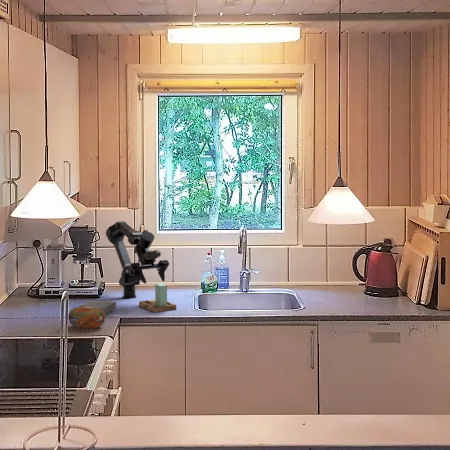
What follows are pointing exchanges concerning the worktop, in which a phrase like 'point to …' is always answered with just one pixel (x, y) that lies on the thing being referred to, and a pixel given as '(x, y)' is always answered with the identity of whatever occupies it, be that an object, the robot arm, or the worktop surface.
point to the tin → (87, 317)
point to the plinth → (101, 305)
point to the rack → (157, 308)
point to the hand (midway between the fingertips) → (154, 282)
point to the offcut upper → (151, 302)
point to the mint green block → (161, 294)
